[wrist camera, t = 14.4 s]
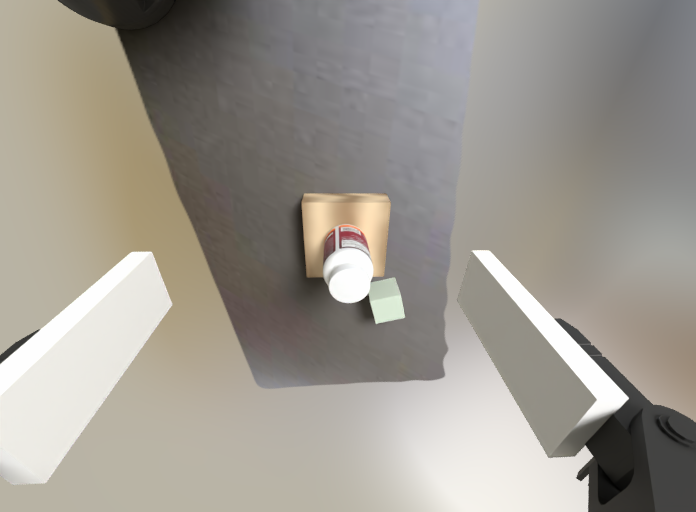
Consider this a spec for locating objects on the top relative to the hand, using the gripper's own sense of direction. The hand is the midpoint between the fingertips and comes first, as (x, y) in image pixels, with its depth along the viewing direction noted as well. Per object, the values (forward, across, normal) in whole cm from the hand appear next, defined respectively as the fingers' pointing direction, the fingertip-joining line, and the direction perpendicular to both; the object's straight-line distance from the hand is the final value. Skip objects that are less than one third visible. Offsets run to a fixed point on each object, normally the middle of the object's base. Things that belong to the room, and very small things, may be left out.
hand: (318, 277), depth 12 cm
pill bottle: (+26, +3, -12) cm, 29 cm away
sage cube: (+29, +10, -25) cm, 40 cm away
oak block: (+30, +3, -13) cm, 33 cm away
